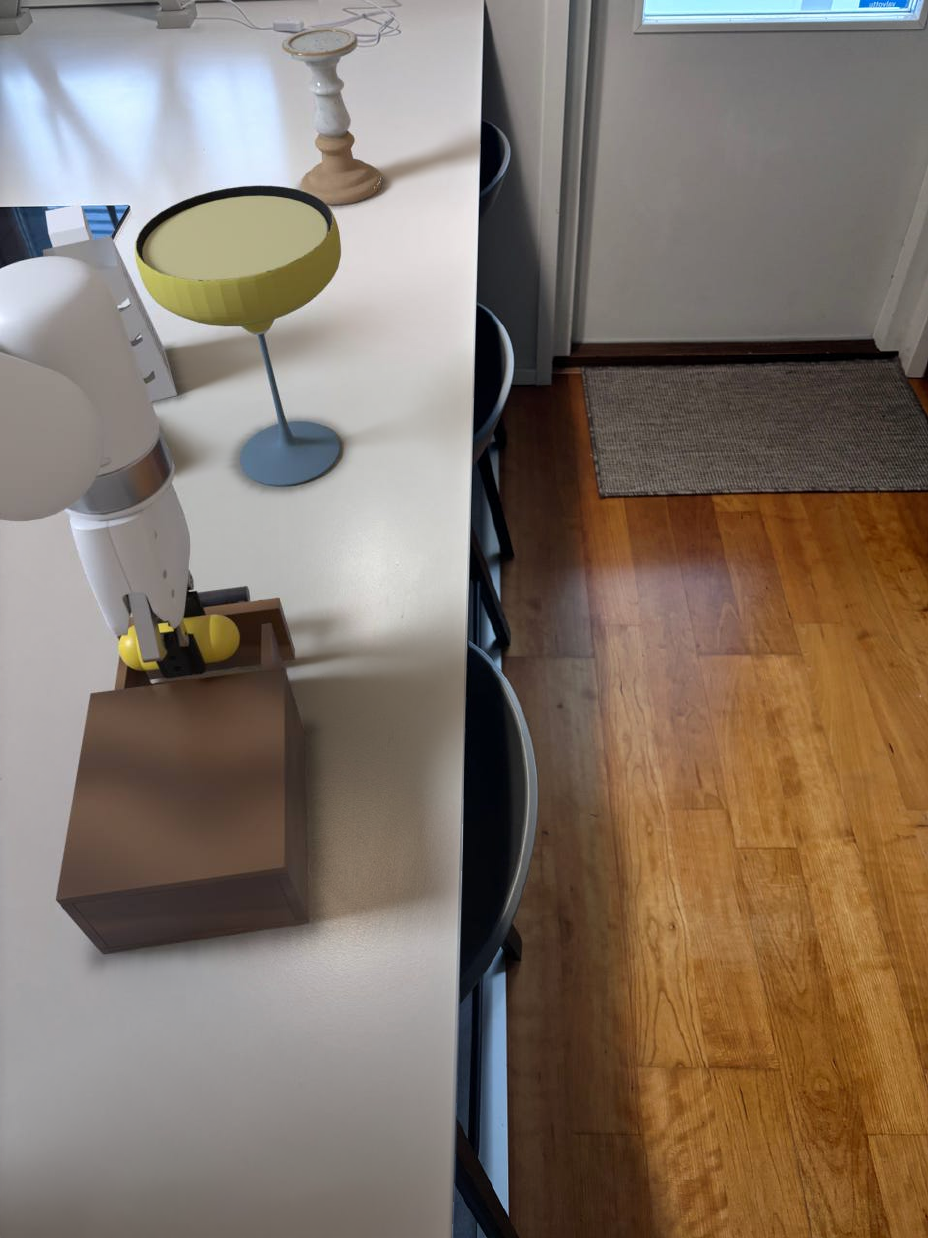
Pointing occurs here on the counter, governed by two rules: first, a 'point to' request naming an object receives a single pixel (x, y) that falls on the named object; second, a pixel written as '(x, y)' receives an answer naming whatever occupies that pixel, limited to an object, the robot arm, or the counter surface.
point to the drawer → (257, 627)
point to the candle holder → (331, 118)
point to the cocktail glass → (249, 292)
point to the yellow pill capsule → (209, 631)
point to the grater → (113, 291)
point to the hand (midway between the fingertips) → (187, 650)
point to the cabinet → (188, 813)
